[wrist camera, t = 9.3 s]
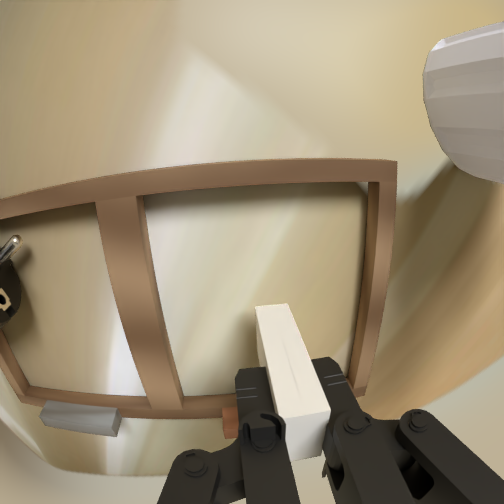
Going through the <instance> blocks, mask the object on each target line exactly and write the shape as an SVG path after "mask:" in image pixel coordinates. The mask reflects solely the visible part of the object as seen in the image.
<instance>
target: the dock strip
mask: <svg viewBox="0 0 504 504" xmlns="http://www.w3.org/2000/svg"><path fill="white" fill-rule="evenodd" d="M305 182H368V210H367V230H366V245H365V257H364V268H363V278H362V288H361V296H360V304H359V312H358V319H357V326H356V333H355V339H354V345H353V351H352V357H351V362H350V367H349V373H348V377H346V381H347V382H348V384H349V386H350V388H351V390H352V392H353V394H354V396H355V398H356V397H360V396H364V395H365V391H366V388H367V384H368V380H369V376H370V372H371V368H372V364H373V360H374V356H375V351H376V347H377V342H378V337H379V332H380V327H381V322H382V317H383V311H384V305H385V299H386V293H387V287H388V280H389V272H390V264H391V256H392V247H393V237H394V225H395V211H396V192H397V161H391V160H382V159H353V158H295V159H265V160H245V161H230V162H216V163H205V164H194V165H184V166H175V167H166V168H158V169H150V170H143V171H135V172H129V173H122V174H116V175H109V176H103V177H98V178H92V179H87V180H81V181H76V182H71V183H66V184H61V185H56V186H52V187H47V188H43V189H38V190H34V191H30V192H26V193H22V194H18V195H14V196H10V197H6V198H3V199H0V219H4V218H9V217H13V216H18V215H23V214H28V213H33V212H38V211H43V210H49V209H54V208H60V207H65V206H71V205H77V204H83V203H90V202H95V204H96V211H97V217H98V223H99V229H100V234H101V239H102V245H103V250H104V254H105V259H106V264H107V268H108V272H109V277H110V281H111V285H112V289H113V293H114V297H115V301H116V304H117V308H118V312H119V315H120V319H121V322H122V325H123V329H124V332H125V335H126V338H127V342H128V345H129V348H130V351H131V354H132V357H133V360H134V363H135V365H136V368H137V371H138V374H139V377H140V379H141V382H142V385H143V387H144V390H145V392H146V395H147V396H119V395H102V394H90V393H80V392H70V391H62V390H54V389H47V388H41V387H35V386H30V385H29V383H28V381H27V380H26V378H25V376H24V374H23V372H22V371H21V369H20V367H19V365H18V363H17V361H16V359H15V357H14V355H13V353H12V351H11V349H10V347H9V345H8V343H7V341H6V338H5V336H4V334H3V332H2V329H0V367H1V369H2V371H3V373H4V375H5V376H6V378H7V380H8V381H9V383H10V385H11V387H12V388H13V390H14V391H15V393H16V395H17V396H18V398H19V399H20V401H21V402H22V403H26V404H30V405H35V406H40V407H43V409H42V411H41V413H40V415H39V417H40V419H41V420H42V422H43V423H44V425H45V426H49V427H54V428H59V429H64V430H70V431H76V432H82V433H89V434H96V435H104V436H113V437H117V434H118V430H119V427H120V423H121V419H122V417H126V418H146V419H201V418H221V417H223V431H224V436H225V439H229V438H237V437H238V426H239V421H238V410H237V398H236V394H223V395H206V396H184V395H183V392H182V388H181V385H180V381H179V377H178V374H177V370H176V366H175V362H174V359H173V355H172V351H171V347H170V343H169V338H168V334H167V330H166V326H165V321H164V317H163V312H162V307H161V303H160V298H159V293H158V288H157V283H156V277H155V272H154V266H153V261H152V255H151V249H150V242H149V236H148V229H147V222H146V215H145V208H144V200H143V195H148V194H156V193H165V192H174V191H184V190H194V189H205V188H217V187H230V186H245V185H261V184H280V183H305Z"/></svg>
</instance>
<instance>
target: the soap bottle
mask: <svg viewBox="0 0 504 504" xmlns="http://www.w3.org/2000/svg"><path fill="white" fill-rule="evenodd" d="M423 96H424V103H425V106H426V110H427V114H428V118H429V122H430V126H431V128H432V130H433V132H434V134H435V136H436V138H437V140H438V142H439V144H440V146H441V148H442V150H443V151H444V152H445V153H446V155H447V156H448V157H449V158H450V159H451V160H452V162H453V163H454V164H455V165H456V166H457V167H458V168H459V169H461V170H463V171H465V172H467V173H468V174H470V175H472V176H474V177H478V178H482V179H486V180H490V181H494V182H498V183H502V184H504V22H499V23H495V24H491V25H487V26H483V27H480V28H476V29H473V30H469V31H466V32H463V33H460V34H457V35H453V36H450V37H447V38H444V39H441V40H440V41H439V42H438V43H437V44H436V45H435V46H434V48H433V49H432V50H431V51H430V52H429V54H428V57H427V60H426V64H425V68H424V71H423Z"/></svg>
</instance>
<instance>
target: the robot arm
mask: <svg viewBox="0 0 504 504" xmlns="http://www.w3.org/2000/svg"><path fill="white" fill-rule="evenodd" d="M255 316H256V334H257V353H258V358H259V364H260V367H256V368H246V369H239V371H238V373H237V375H236V377H235V387H236V398H237V410H238V421H239V426H238V437H237V439H236V440H235V441H234V443H233V444H231V445H230V446H229V447H226V448H224V449H222V450H219V451H216V452H213V453H209V452H207V451H204V450H201V449H191V450H188V451H184V452H183V453H181V454H180V455H178V456H177V457H176V459H175V460H174V462H173V464H172V467H171V469H170V472H169V474H168V477H167V479H166V482H165V484H164V487H163V490H162V492H161V495H160V497H159V500H158V502H157V504H229V503H232V502H235V501H238V500H240V499H243V498H246V503H247V504H300V500H299V495H298V491H297V487H296V483H295V479H294V474H293V470H292V466H291V462H290V461H296V460H301V459H307V458H312V457H317V456H321V453H322V449H323V451H324V454H325V457H326V460H325V464H324V467H323V471H322V477H325V476H326V474H327V477H328V480H329V483H330V486H331V490H332V493H333V496H334V499H335V502H336V504H504V480H503V479H502V478H501V477H500V476H498V475H497V474H496V473H495V472H494V471H493V470H492V469H491V468H490V467H489V466H487V465H486V464H485V463H484V462H483V461H482V460H481V459H480V458H479V457H478V456H477V455H476V454H474V453H473V452H472V451H471V450H470V449H469V448H468V447H467V446H466V445H464V444H463V443H462V442H461V441H460V440H459V439H458V438H457V437H456V436H455V435H453V434H452V433H451V432H450V431H449V430H448V429H447V428H446V427H445V426H444V425H443V424H442V423H440V421H438V420H437V419H436V418H435V417H434V416H433V415H432V414H430V413H429V412H427V411H425V410H421V409H412V410H410V411H407V412H406V413H405V414H404V415H402V417H401V419H400V420H377V419H374V418H372V417H371V415H369V414H367V413H365V412H363V411H362V410H361V408H360V406H359V404H358V402H357V400H356V398H355V396H354V394H353V392H352V390H351V388H350V386H349V384H348V382H347V381H346V378H345V376H344V375H343V372H342V371H341V369H340V367H339V365H338V363H336V362H335V361H334V360H333V359H331V358H330V357H324V358H318V359H312V360H311V359H310V357H309V355H308V352H307V350H306V347H305V345H304V342H303V340H302V337H301V335H300V333H299V330H298V328H297V325H296V323H295V320H294V318H293V316H292V313H291V311H290V308H289V306H288V304H287V303H286V304H276V305H266V306H256V307H255Z"/></svg>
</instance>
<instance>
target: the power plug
mask: <svg viewBox="0 0 504 504" xmlns="http://www.w3.org/2000/svg"><path fill="white" fill-rule="evenodd" d="M22 244H23V240H22V238H21V236H20V235H18V234H17V235H13V236H12V237H11V238H10V239H9V241H8V242H7V243H6V244H5V245H4V246H3V247H2V249H1V250H0V329H1V328H2V327H3V326H4V325H5V324H6V323H7V322H8V321H9V320H10V319H11V317H12V316H13V315H14V314H15V313H16V312H17V310H18V308H19V305H20V301H21V288H20V282H19V278H18V276H17V274H16V273H15V271H14V270H13V269H12V267H11V266H10V264H11V263H12V261H11V259H10V258H11V257H12V256H13V255H14V254H15V253H16V252H17V250H18V249H19V248H20V247H21V246H22Z"/></svg>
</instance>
